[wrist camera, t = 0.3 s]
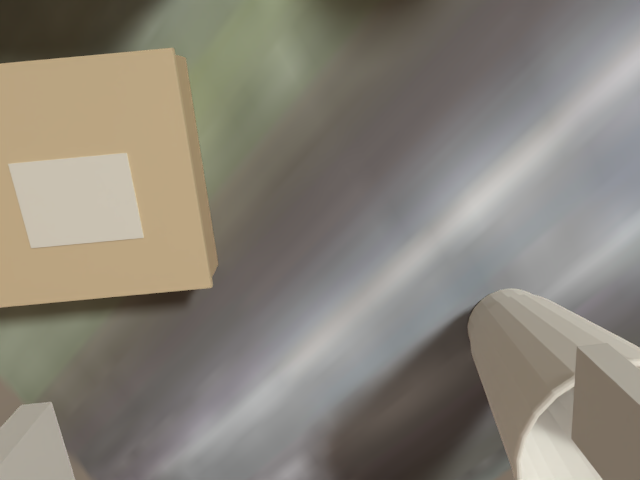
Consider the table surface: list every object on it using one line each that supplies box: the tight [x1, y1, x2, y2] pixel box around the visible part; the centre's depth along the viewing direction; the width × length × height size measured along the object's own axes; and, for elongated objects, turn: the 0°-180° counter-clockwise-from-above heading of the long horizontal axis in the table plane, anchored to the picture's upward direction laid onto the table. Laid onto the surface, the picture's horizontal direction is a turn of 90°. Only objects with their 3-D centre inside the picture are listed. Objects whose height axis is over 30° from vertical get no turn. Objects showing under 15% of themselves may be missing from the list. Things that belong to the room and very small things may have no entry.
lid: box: [0, 48, 213, 308], centre depth 33 cm, size 17×20×3 cm
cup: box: [467, 288, 640, 480], centre depth 35 cm, size 12×12×16 cm
